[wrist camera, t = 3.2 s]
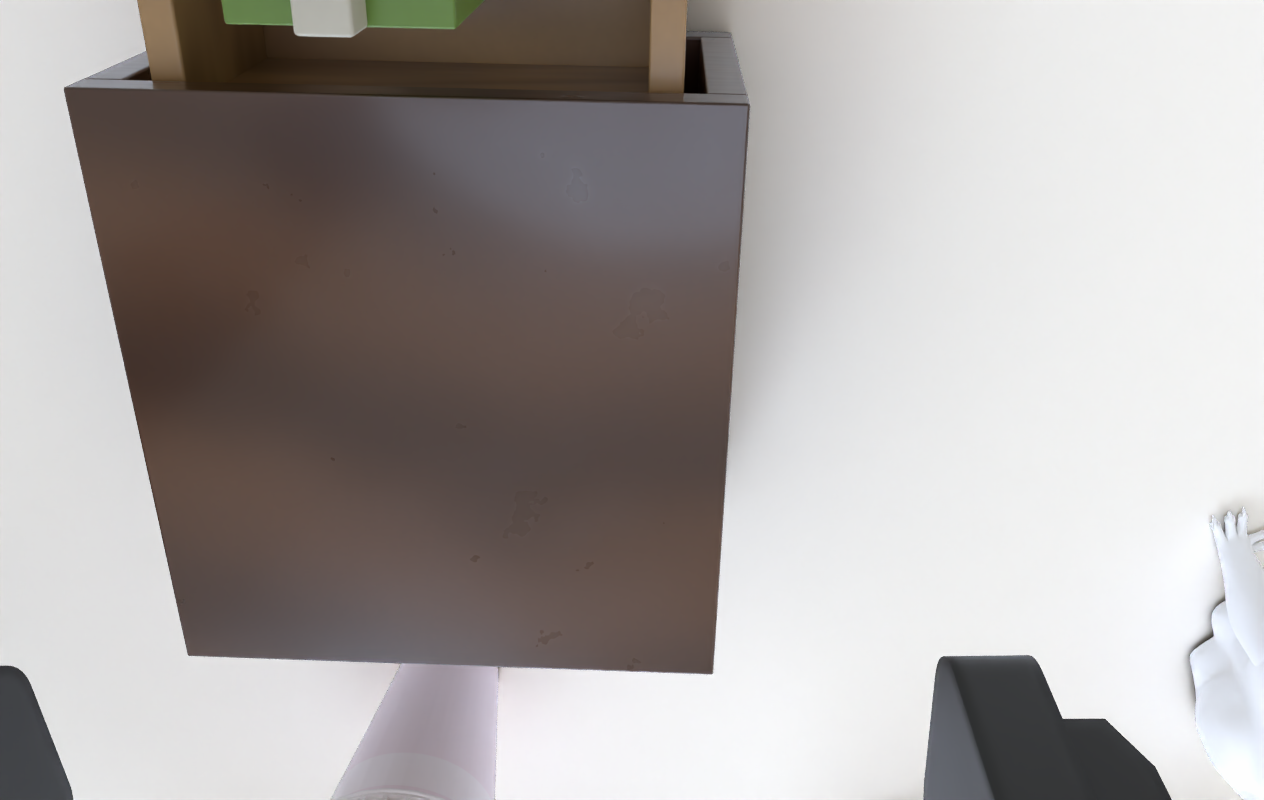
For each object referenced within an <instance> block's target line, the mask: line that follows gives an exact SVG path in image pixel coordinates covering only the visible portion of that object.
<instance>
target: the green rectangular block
mask: <svg viewBox="0 0 1264 800" xmlns="http://www.w3.org/2000/svg"><path fill="white" fill-rule="evenodd" d="M221 1H222V8H223V14H224V21H225V23H226V24H240V25H284V26H293V28H294V33H295V35H297V36H307V37H353V36H355V35H356V34H358V33H359V32H360V31H362V30H363V29H365V28H366V27H372V28H416V29H456V28H457V27H458V26H459V25H460V24H461V23H462V22H463V21H464V20H465V19H466V18H467V17H468V16H469V15H470V14H471V13H472V12H473V11H474V10H475V9H476V8H477V7H478V6H479V5H480V4H481V3H483V2H484V1H485V0H221Z"/></svg>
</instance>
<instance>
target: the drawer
mask: <svg viewBox="0 0 1264 800" xmlns="http://www.w3.org/2000/svg"><path fill="white" fill-rule="evenodd" d="M137 2H138V7H139V13H140V18H141V23H142V29H143V34H144V40H145V45H146V51H147V56H148V62H149V67H150V73H151V78H152V81H186V82H227V83H269V84H311V85H353V86H395V87H437V88H479V89H521V90H562V91H604V92H646V93H684V77H685V51H686V24H687V0H485V1H484V2H483V3H481V4H480V5H479V6H478V7H477V8H476V9H475V10H474V11H473V12H472V13H471V14H470V15H469V16H468V17H467V18H466V19H465V20H464V21H463V22H462V23H461V24H460V25H459V26H458V27H457V28H456V29H416V28H372V27H366V28H365V29H363V30H362V31H360V32H359V33H358V34H356V35H355V36H353V37H307V36H297V35H295V33H294V28H293V26H284V25H240V24H226V23H225V21H224V14H223V8H222V1H221V0H137Z"/></svg>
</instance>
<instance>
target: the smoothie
mask: <svg viewBox="0 0 1264 800" xmlns="http://www.w3.org/2000/svg"><path fill="white" fill-rule="evenodd" d="M497 710H498V667H490V666H461V665H433V664H405V663H401V665H400V667H399V669H398V671H397V673H396V675H395V677H394V678H393V680H392V682H391V684H390V686H389V688H388V690H387V692H386V694H385V696H384V698H383V700H382V702H381V704H380V705H379V707H378V709H377V711H376V713H375V715H374V717H373V719H372V721H371V723H370V725H369V727H368V729H367V731H366V732H365V734H364V736H363V738H362V740H361V742H360V744H359V746H358V748H357V750H356V752H355V754H354V756H353V758H352V759H351V761H350V763H349V765H348V767H347V769H346V771H345V773H344V775H343V777H342V779H341V780H340V782H339V784H338V786H337V788H336V790H335V792H334V794H333V796H332V798H331V800H495V782H496V746H497Z"/></svg>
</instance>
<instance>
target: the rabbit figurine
mask: <svg viewBox="0 0 1264 800" xmlns="http://www.w3.org/2000/svg"><path fill="white" fill-rule="evenodd" d="M1248 518H1249V516H1248V514H1247V513H1246V510H1245V508H1244V507H1242V513H1240V514H1239V515H1238V523H1237V526H1235V521H1236V519H1235V516H1233V515H1232V513H1231V511H1228V512H1227V515H1226V516H1225V517H1224V522H1225V534H1226V536H1225V534H1224V532H1223V530H1222V528H1221V524H1220V523H1219V522H1218V521H1217V520H1216V518H1215V517H1214V515H1212V522H1210V524H1209V525H1210V528H1211V529H1212V531H1213V534H1214V537H1215V540H1216V544H1217V550H1218V555H1219V559H1220V564H1221V569H1222V574H1223V580H1224V587H1225V597H1226V601H1224V602H1222V603H1220V604H1219V605H1218V606H1217V607H1216V608H1215V609H1214V611H1213V613H1212V619H1211V623H1212V628H1213V632H1214V636H1213V637H1212V638H1211V639H1209V640H1208V641H1206V642H1204V643H1203V644H1201V645H1200V646H1198V647H1197V648H1196V649H1195V650H1194V651H1193V652H1192V653H1191V655H1190V663H1191V668H1192V674H1193V679H1194V684H1195V690H1196V705H1195V721H1196V727H1197V732H1198V734H1199V736H1200V738H1201V740H1202V743H1203V746H1204V748H1205V751H1206V753H1207V755H1208V757H1209V759H1210V761H1211V762H1212V764H1213V766H1214V767H1215V768H1216V770H1217V771H1218V772H1219V773H1220V774H1221V776H1222V777H1223V778H1224V779H1225V781H1226V782H1227V783H1228V784H1229V785H1230V786H1231V787H1232V788H1233V789H1234V791H1235V792H1236V793H1237V794H1238V795H1239V796H1241V797H1242V798H1243V799H1244V800H1264V569H1263V567H1262V565H1261V563H1260V562H1259V560H1258V558H1257V556H1256V554H1255V552H1257V551H1264V542H1258V543H1255V542H1257V541H1259V540H1260V539H1264V529H1263V530H1261V531H1259V532H1257V533H1254V534H1250V535H1247V522H1248Z"/></svg>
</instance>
